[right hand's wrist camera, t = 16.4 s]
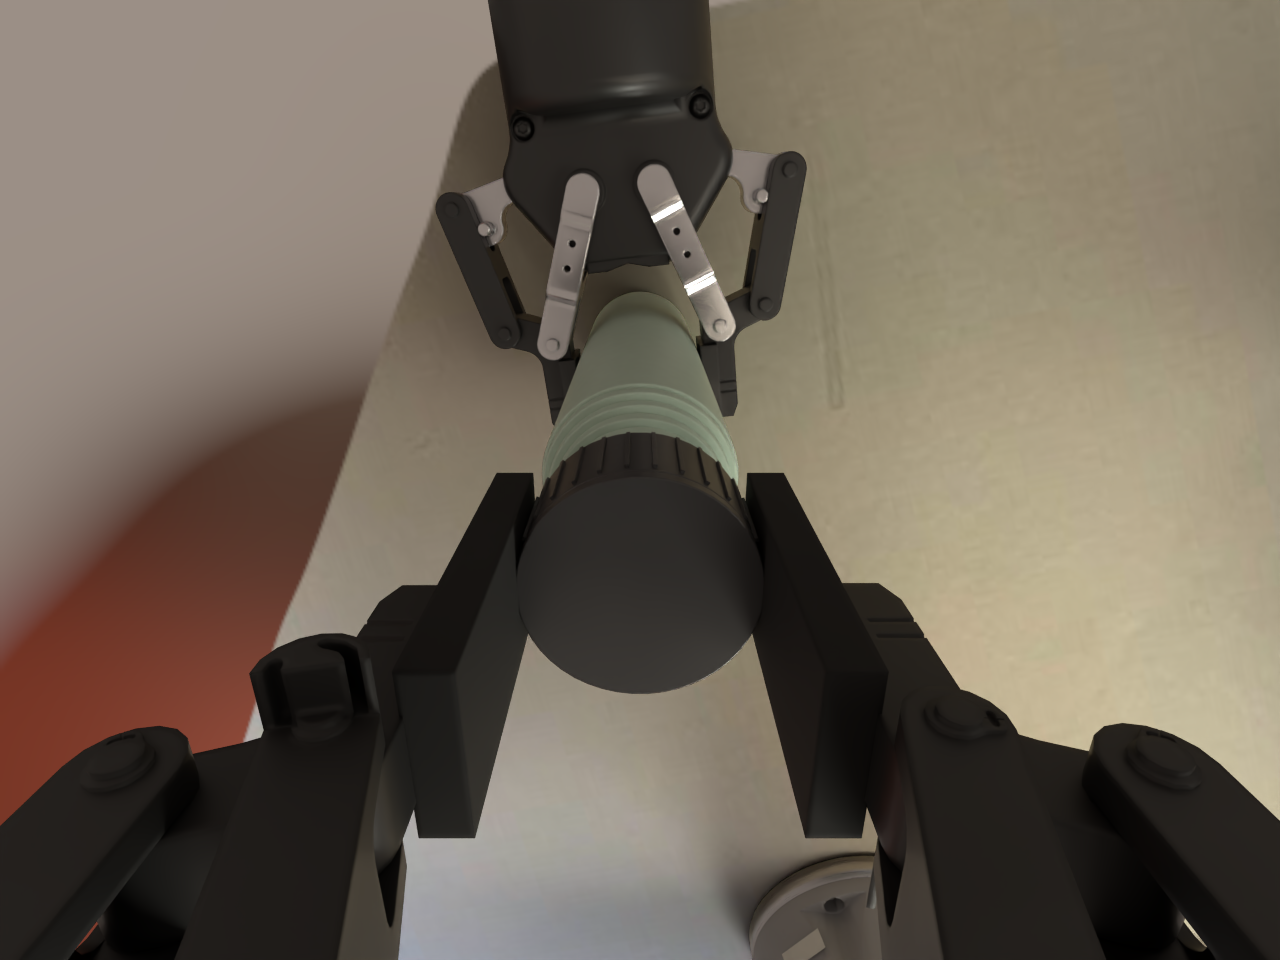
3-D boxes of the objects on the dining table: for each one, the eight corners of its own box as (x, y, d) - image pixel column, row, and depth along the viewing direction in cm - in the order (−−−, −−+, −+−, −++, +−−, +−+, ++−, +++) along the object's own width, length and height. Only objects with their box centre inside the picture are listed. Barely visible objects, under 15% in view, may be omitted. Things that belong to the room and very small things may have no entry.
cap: (567, 398, 14) (552, 437, 11) (783, 469, 14) (810, 520, 12) (506, 590, 15) (483, 658, 13) (703, 647, 16) (713, 722, 14)
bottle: (707, 361, 35) (818, 621, 13) (622, 408, 36) (594, 723, 14) (659, 272, 33) (695, 401, 12) (571, 323, 34) (452, 533, 13)
